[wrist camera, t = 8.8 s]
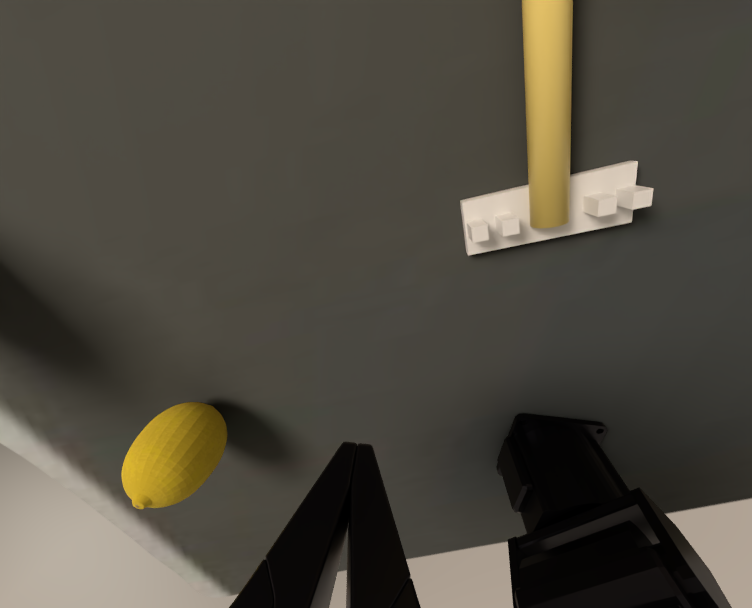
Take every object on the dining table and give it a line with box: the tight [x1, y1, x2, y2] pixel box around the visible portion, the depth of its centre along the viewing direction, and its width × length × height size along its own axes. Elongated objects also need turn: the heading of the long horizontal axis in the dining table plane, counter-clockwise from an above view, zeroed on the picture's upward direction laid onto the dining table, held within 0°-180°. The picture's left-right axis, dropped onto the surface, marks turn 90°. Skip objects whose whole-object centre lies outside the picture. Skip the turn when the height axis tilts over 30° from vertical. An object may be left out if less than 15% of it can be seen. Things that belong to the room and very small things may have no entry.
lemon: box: [122, 402, 227, 509], centre depth 22 cm, size 6×6×8 cm
